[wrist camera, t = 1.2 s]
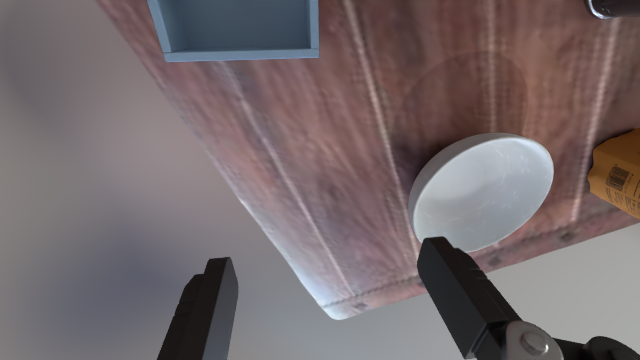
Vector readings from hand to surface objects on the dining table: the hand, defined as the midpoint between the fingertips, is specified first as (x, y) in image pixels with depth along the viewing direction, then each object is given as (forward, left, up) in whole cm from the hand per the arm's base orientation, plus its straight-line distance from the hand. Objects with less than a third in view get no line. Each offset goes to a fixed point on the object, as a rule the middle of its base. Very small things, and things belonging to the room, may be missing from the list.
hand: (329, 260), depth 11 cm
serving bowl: (-3, +29, -26) cm, 39 cm away
